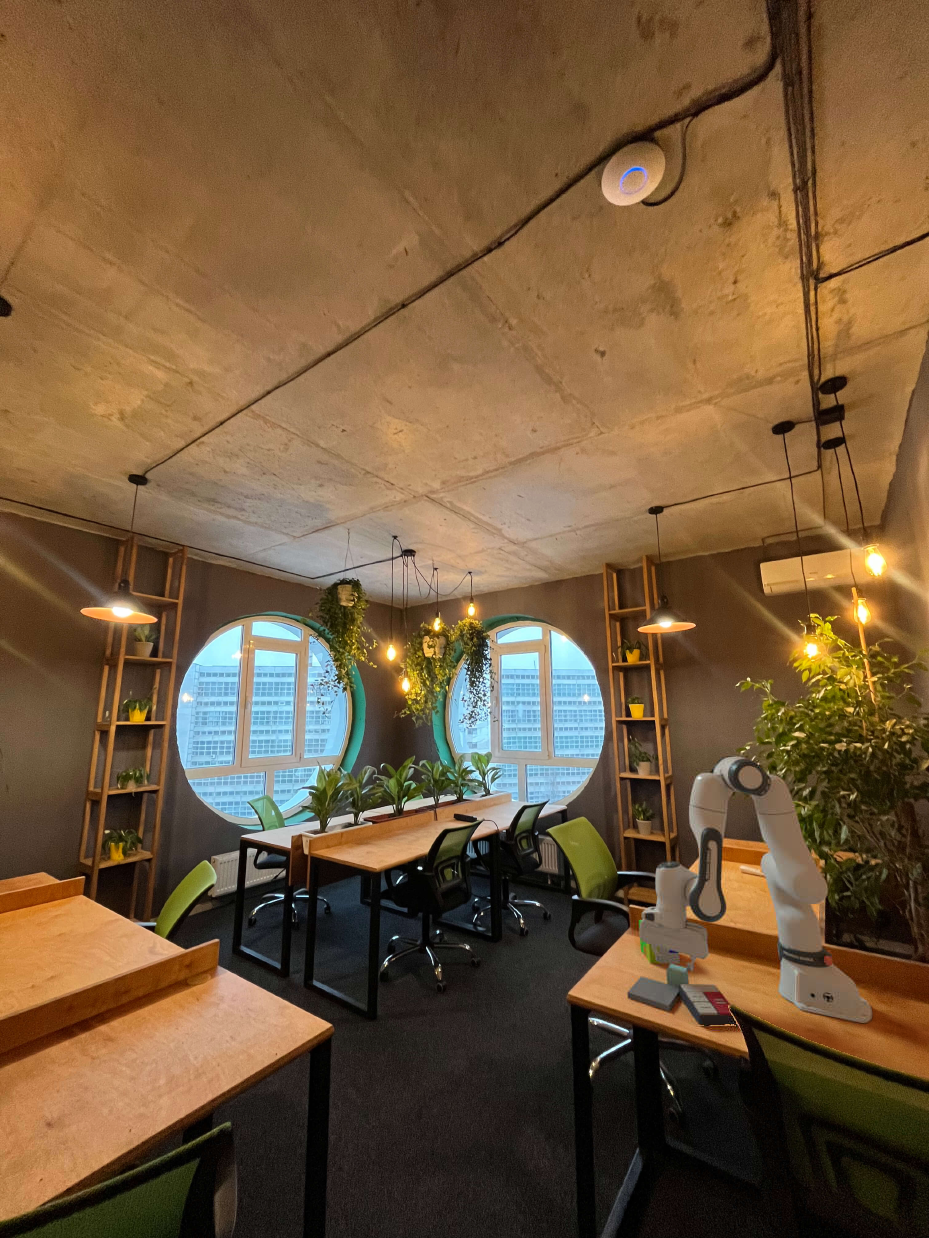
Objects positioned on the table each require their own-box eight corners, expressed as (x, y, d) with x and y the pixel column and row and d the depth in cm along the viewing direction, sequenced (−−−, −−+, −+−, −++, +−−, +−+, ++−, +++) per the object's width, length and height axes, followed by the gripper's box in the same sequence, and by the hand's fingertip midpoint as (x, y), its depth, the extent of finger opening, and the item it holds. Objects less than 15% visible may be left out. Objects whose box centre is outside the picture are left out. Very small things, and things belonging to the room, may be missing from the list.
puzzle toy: (679, 963, 172) (677, 931, 174) (650, 963, 172) (648, 931, 174) (668, 950, 182) (666, 919, 184) (640, 950, 182) (638, 919, 184)
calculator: (699, 1012, 137) (677, 981, 152) (700, 1030, 137) (678, 997, 152) (740, 1013, 137) (714, 981, 152) (741, 1030, 136) (715, 997, 151)
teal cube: (689, 985, 158) (687, 968, 159) (684, 992, 154) (683, 974, 155) (672, 981, 161) (671, 963, 162) (667, 987, 157) (666, 969, 158)
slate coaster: (681, 993, 153) (680, 988, 153) (669, 1011, 144) (668, 1005, 144) (641, 981, 160) (641, 976, 161) (627, 997, 151) (627, 991, 151)
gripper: (709, 922, 157) (712, 972, 155) (643, 906, 170) (645, 952, 167) (704, 928, 152) (707, 980, 150) (636, 911, 165) (638, 958, 162)
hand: (674, 965), depth 158 cm, fingers open, 8 cm apart
